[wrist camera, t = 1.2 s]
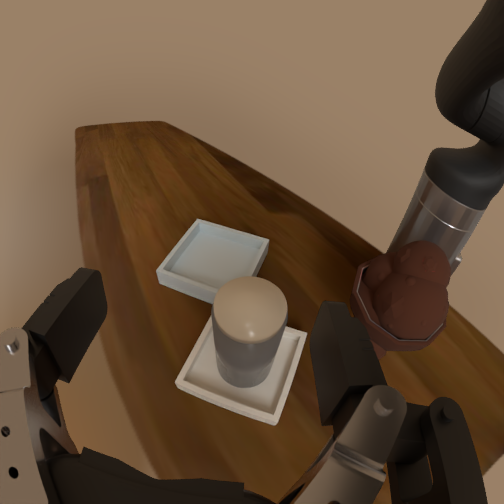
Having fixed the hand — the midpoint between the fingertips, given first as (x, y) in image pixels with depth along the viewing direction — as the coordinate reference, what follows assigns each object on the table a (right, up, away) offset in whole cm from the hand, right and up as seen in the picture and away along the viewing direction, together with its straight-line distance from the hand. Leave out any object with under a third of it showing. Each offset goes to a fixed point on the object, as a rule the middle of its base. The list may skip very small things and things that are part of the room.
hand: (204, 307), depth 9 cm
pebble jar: (+1, -9, +18) cm, 20 cm away
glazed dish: (-3, 0, +28) cm, 28 cm away
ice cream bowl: (+16, -9, +21) cm, 28 cm away
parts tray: (+1, -10, +18) cm, 21 cm away
